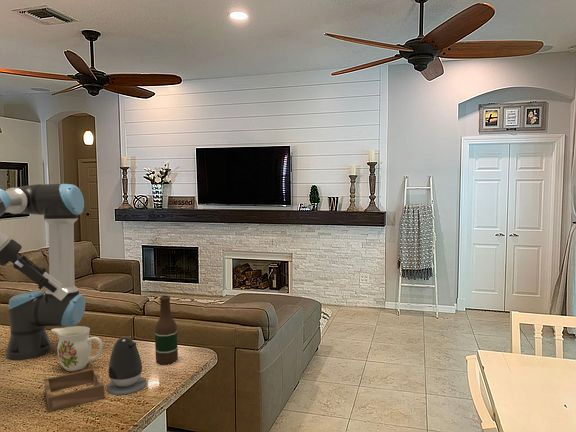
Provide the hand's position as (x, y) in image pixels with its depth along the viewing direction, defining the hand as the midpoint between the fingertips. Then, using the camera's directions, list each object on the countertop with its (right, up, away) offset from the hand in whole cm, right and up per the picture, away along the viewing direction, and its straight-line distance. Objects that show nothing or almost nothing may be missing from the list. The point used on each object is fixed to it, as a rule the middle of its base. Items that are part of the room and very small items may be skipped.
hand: (61, 292), depth 139 cm
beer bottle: (+25, -30, +26) cm, 47 cm away
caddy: (+3, -32, +1) cm, 32 cm away
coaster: (+18, -31, +6) cm, 36 cm away
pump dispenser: (+17, -30, +6) cm, 36 cm away
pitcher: (-5, -30, +22) cm, 38 cm away
